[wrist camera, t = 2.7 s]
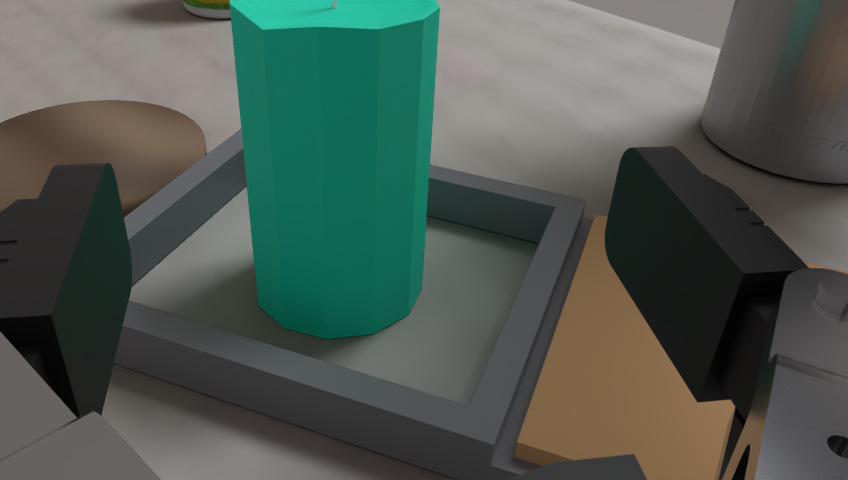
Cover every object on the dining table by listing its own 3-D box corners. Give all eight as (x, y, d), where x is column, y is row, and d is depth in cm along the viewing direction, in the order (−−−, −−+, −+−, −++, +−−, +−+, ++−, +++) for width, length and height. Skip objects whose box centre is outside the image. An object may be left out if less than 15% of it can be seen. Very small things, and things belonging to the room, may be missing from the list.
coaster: (76, 100, 38) (72, 85, 38) (249, 141, 36) (248, 125, 35) (-99, 194, 31) (-106, 176, 30) (106, 254, 28) (102, 236, 28)
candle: (325, 219, 31) (316, -100, 24) (452, 271, 28) (483, -66, 21) (217, 294, 27) (169, -66, 20) (356, 364, 24) (356, -20, 17)
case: (251, 159, 34) (248, 123, 33) (1000, 340, 27) (1026, 300, 26) (37, 337, 24) (24, 293, 23) (1146, 712, 17) (1198, 671, 16)
